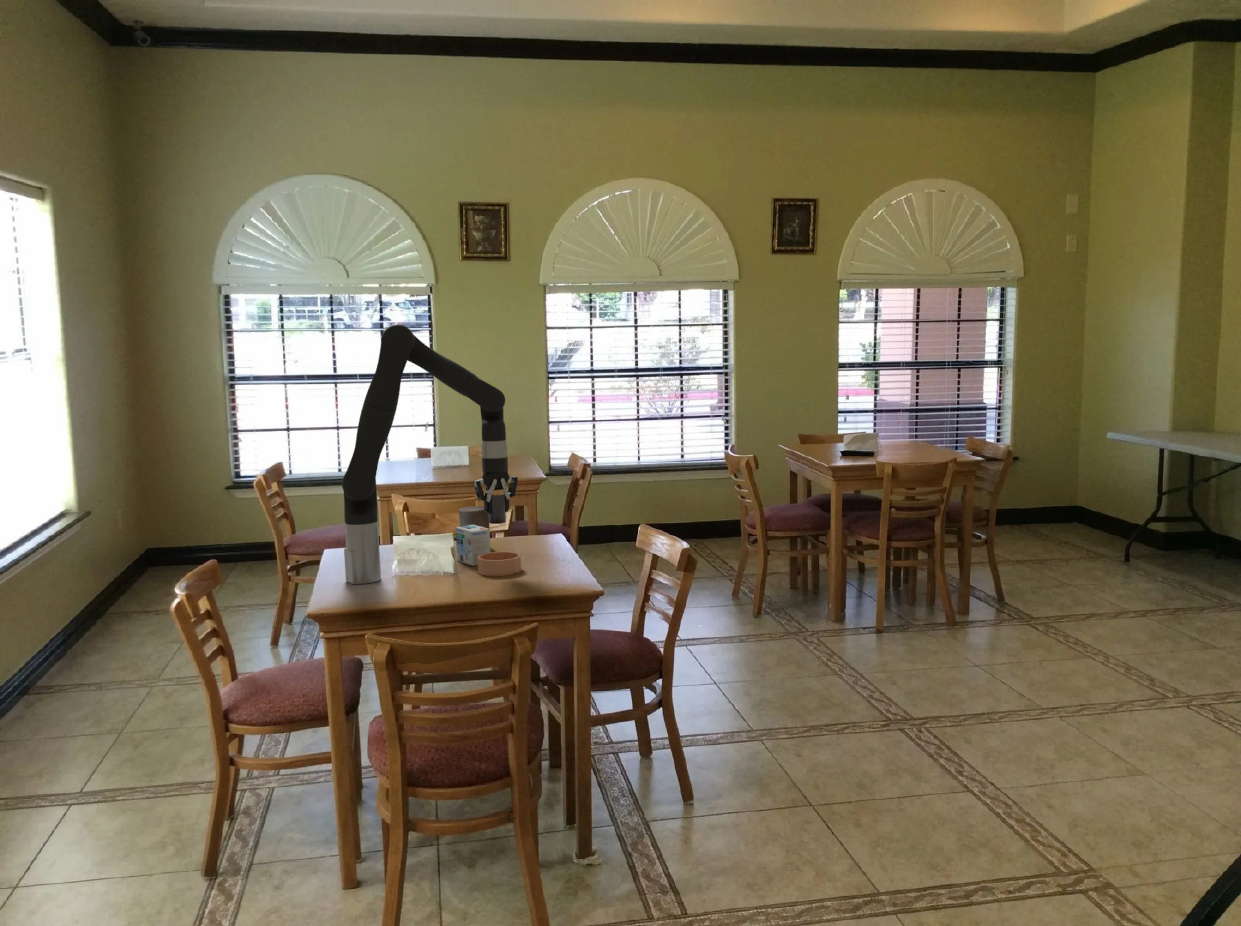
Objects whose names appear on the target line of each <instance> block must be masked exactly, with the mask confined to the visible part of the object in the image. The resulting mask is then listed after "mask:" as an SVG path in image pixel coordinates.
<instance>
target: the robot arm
mask: <svg viewBox="0 0 1241 926" xmlns="http://www.w3.org/2000/svg"><path fill="white" fill-rule="evenodd" d="M379 347H380V348H379V356H378V361H377V363H376V365H377V366H376V369H375V372H374V374H373V377H372V379H371V381H370V383H369V385H368V389H367V392H366V395H365V397H364V400H363V405H362V408H361V412H360V416H359V420H358V424H357V430H356V438H355V445H354V449H353V453H352V455H351V456H352V457H351V459H350V461H349V464H348V467H347V469H346V472H345V473H344V475H343V478H342V480H341V488H342V490H343V499H344V500H343V501H344V506H343V507H344V509H343V510H344V513H343V515H344V528H345V529H344V530H345V532H344V533H345V548H344V549H343V551H344V552H343V553H344V555H343V556H344V569H345V570H344V571H345V573H344V574H345V581H346V582H348V583H349V584H351V585H363V584H371V583H375V582H378V581H379V582H380V581H381V580H382V571H381V570H382V569H381V556H380V555H381V552H380V537H379V536H380V535H379V519H378V510H379V509H378V494H377V479H376V477H377V471H378V466H379V462H380V461H379V460H380V458H381V455H382V451H383V449H384V446H385V445H386V442H387V440H388V437H389V434H390V432H391V429H392V425H393V424H394V419H395V415H396V413H397V410H398V409H397V407H398V404H399V398H400V392H401V384H402V383H401V382H402V377H403V374H404V370H405V367H406V365H407V362H409V363H412V364H414V365H415V366H417V367H419V368H421V369H423V370H424V371H425V372H427V373H428V374H429V375H431V376H433V378H435V379H437V380H438V381H439V382H440V383H443V384H444V385H445V386H447V387H448V388H450V389H452V390H454V391H455V392H456V393H458V394H459V395H462V396H463V397H466V398H468V399H469V400H470V401H472V402H474V403H475V404H477V405H478V406H479V411H480V417H481V464H482V466H481V467H482V469H481V470H482V477H481V478H479V479H474V480H473V482H472V483H473V487H474V490H475V495H476V498H477V500H479V501H483V506H484V511H485V512H486V514H491V502H490V499H491V495H492V494H493V490H495V489H504V490H505V510H506V513H508V512H509V510H510V499H511V498H513V497H515V496H516V492H517V487H518V480H519V479H518V478H519V477H517V476H516V475H515V476H514V475H509V472H508V471H509V460H508V459H509V456H508V445H507V433H506V432H507V431H506V430H507V429H506V424H505V419H504V407H505V404H506V397H505V394H504V393H503V391H501V390H500V389H499V388H497V387H495V386H493V385H492V384H491V383H488V382H487V381H484V380H483V379H481V378H479V377H478V376H477V375H476V374H475V373H473V372H472V371H470V370H468V369H467V368H465V367H464V366H462V365H460V364H459V363H456V362H455V361H453V360H452V359H450V358H448V357H446V356H444V355H442V354H440V353H439V352H437V351H436V350H434V349H432V348H431V347H429V346H427V345H426V344H425V343H424V342H423V341H421V340H420V339H419V338H418V337H416V335H414V332H412V330H411V329H410V328H409V327H408V326H405V325H403V324H400V323H397V324H391V325H390V326H388V327H386V328H385V329H384V331H383V332H382V335H381V340H380V346H379ZM507 483H509V484H508V486H507ZM483 484H484V485H485V488H484V490H483V486H484V485H483ZM488 489H489V491H488ZM380 579H381V580H380Z"/></svg>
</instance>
